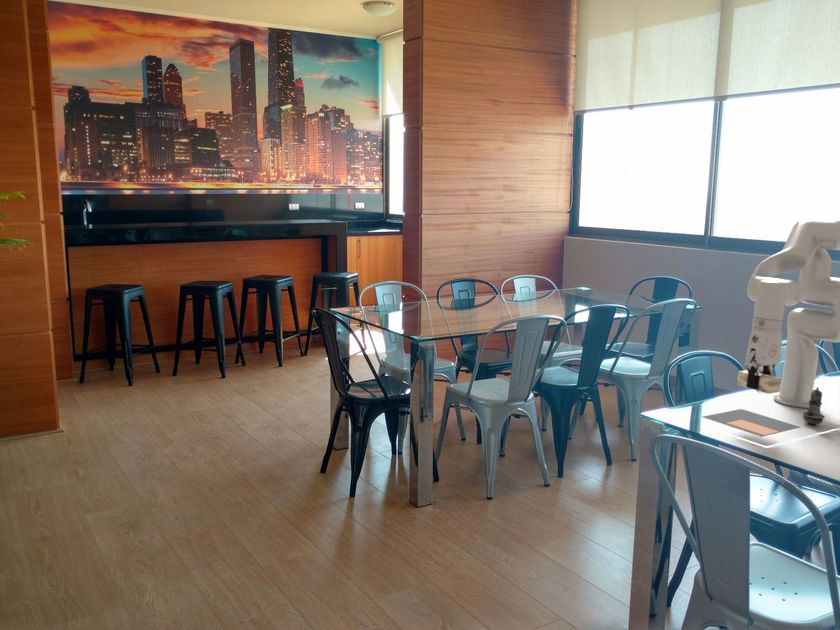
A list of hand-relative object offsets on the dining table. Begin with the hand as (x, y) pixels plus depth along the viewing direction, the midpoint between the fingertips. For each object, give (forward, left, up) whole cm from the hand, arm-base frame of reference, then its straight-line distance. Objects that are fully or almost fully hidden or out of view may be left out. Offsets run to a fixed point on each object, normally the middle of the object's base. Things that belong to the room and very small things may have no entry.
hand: (758, 386), depth 206 cm
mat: (-5, -3, -13) cm, 14 cm away
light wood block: (0, 0, -1) cm, 1 cm away
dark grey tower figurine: (-21, +6, -13) cm, 25 cm away
